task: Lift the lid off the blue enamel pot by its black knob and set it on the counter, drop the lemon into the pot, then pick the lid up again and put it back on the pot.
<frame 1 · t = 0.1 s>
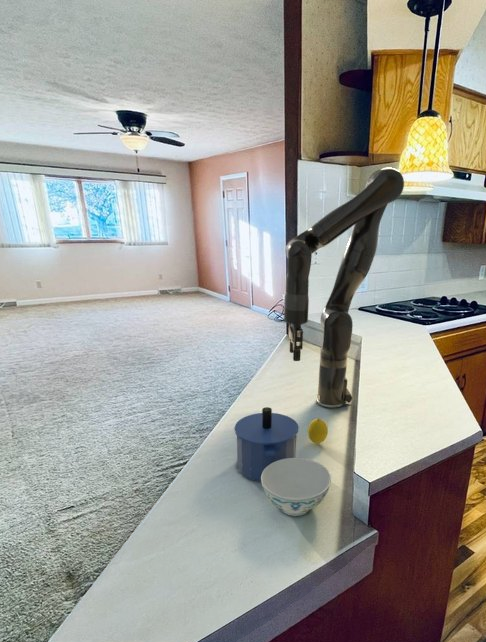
hand: (294, 356, 134), 17 cm above the counter, tool pointing down, fingers open, 8 cm apart
lemon: (317, 444, 117), on the counter
lid: (266, 428, 101), point 10 cm above the counter, touching pot
chinaware: (295, 506, 91), on the counter
pot: (266, 464, 105), on the counter
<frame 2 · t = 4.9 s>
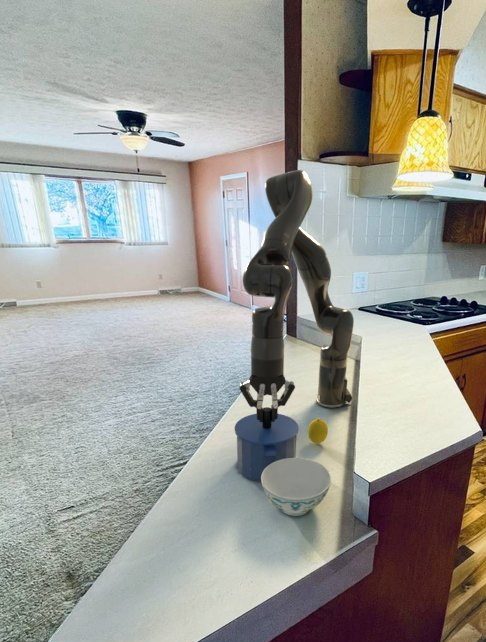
hand: (267, 420, 101), 13 cm above the counter, tool pointing down, fingers closed on lid, 2 cm apart
lid: (266, 428, 101), point 11 cm above the counter, touching gripper, pot
everything else where it was.
when the fingers open (3 cm above the counter, at t = 13.3 s): lid stays where it is, point 1 cm above the counter.
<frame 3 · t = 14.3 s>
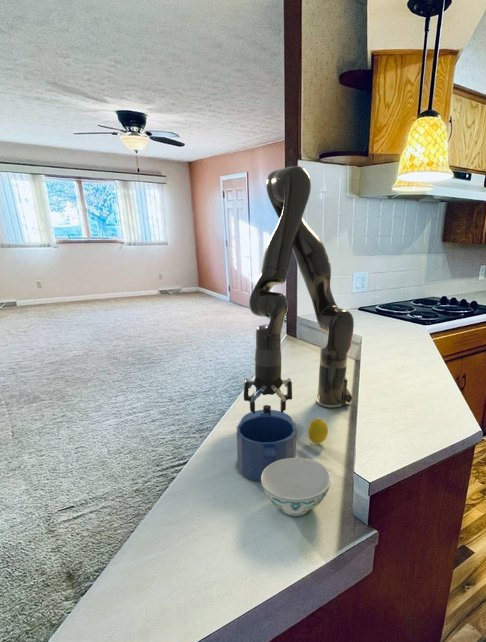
hand: (267, 411, 124), 4 cm above the counter, tool pointing down, fingers open, 8 cm apart
lid: (266, 422, 125), point 1 cm above the counter
everything else where it was.
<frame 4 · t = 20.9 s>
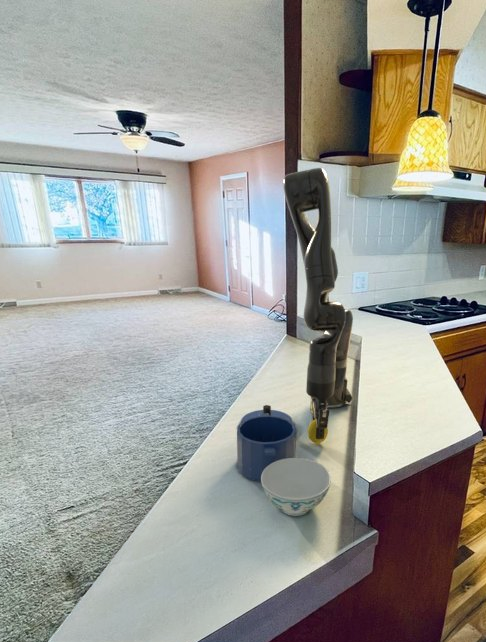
hand: (317, 432, 115), 4 cm above the counter, tool pointing down, fingers closed on lemon, 5 cm apart
lemon: (317, 444, 117), on the counter, touching gripper
everything else where it was.
when the fingers open (13 cm above the counter, at t = 27.2 s): lemon drops 8 cm, resting on pot.
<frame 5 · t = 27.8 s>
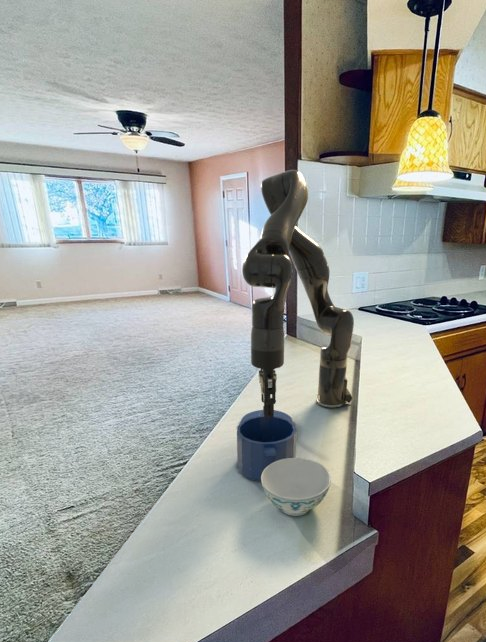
hand: (267, 409, 99), 16 cm above the counter, tool pointing down, fingers open, 8 cm apart
lemon: (266, 460, 105), point 1 cm above the counter, touching pot
everything else where it was.
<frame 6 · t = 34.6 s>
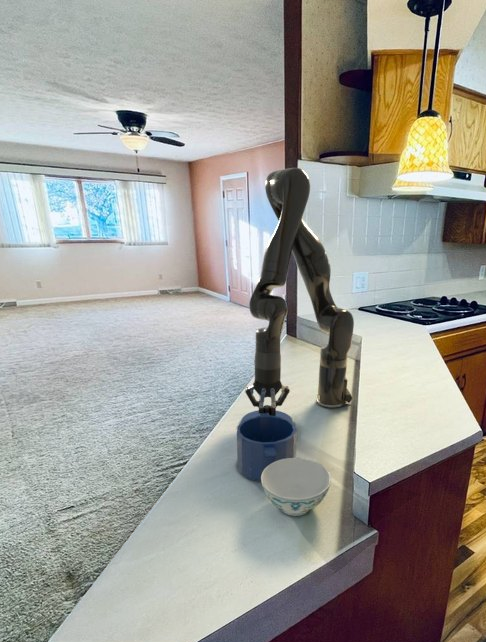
hand: (267, 417, 125), 2 cm above the counter, tool pointing down, fingers closed on lid, 2 cm apart
lid: (267, 422, 125), point 1 cm above the counter, touching gripper
everything else where it was.
when the fingers open (12 cm above the counter, at t = 42.1 s): lid stays where it is, resting on pot.
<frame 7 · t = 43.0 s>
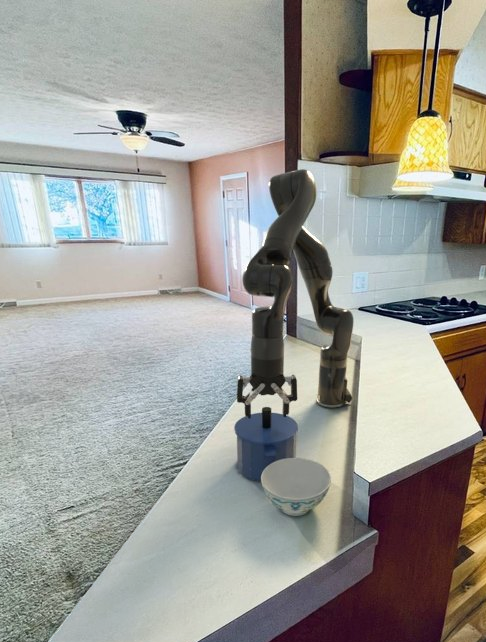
hand: (267, 416, 100), 14 cm above the counter, tool pointing down, fingers open, 8 cm apart
lid: (266, 428, 102), point 10 cm above the counter, touching pot
everything else where it was.
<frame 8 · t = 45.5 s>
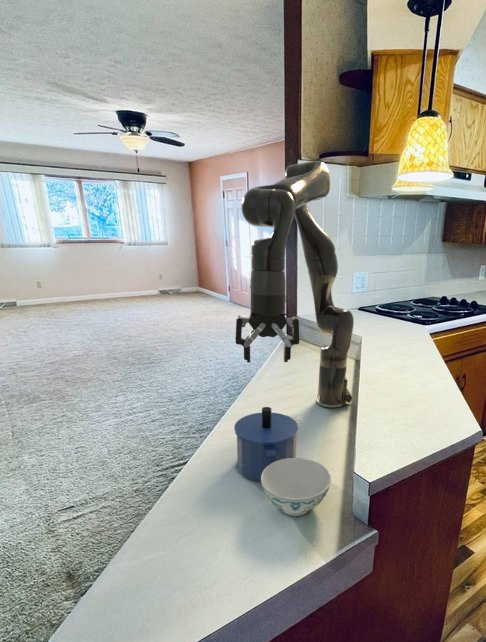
hand: (267, 361, 95), 28 cm above the counter, tool pointing down, fingers open, 8 cm apart
nothing on the counter moved.
at the end: lemon inside the target area in the pot (0.2 cm from its centre), point 1.3 cm above the pot's base; lid 0.2 cm off-centre on the pot, point 10.5 cm above the pot's base; lid tilted 0° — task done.
